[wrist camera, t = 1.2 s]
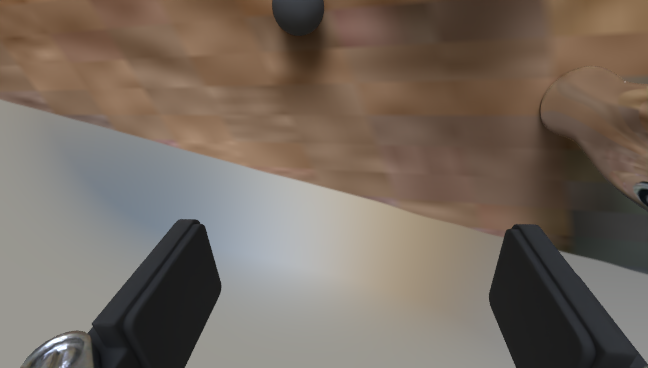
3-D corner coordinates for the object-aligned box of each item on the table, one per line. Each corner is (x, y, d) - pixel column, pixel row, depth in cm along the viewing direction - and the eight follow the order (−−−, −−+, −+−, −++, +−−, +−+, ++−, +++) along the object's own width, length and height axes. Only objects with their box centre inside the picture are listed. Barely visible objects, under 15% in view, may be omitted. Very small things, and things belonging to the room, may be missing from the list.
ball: (294, -34, 26) (283, -38, 23) (336, -2, 27) (331, -1, 23) (270, 14, 28) (256, 17, 24) (310, 42, 29) (302, 49, 25)
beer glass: (609, 138, 30) (796, 248, 17) (526, 141, 31) (643, 247, 18) (638, 56, 26) (901, 115, 13) (544, 63, 27) (704, 124, 14)
